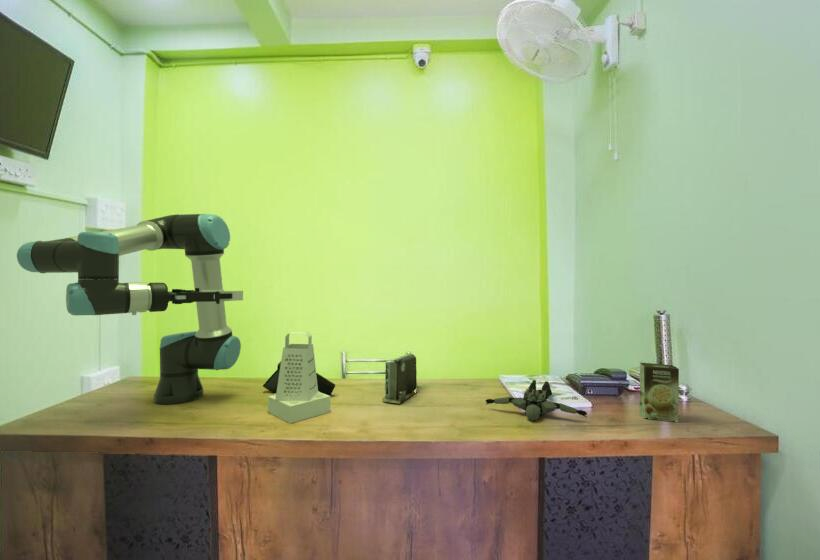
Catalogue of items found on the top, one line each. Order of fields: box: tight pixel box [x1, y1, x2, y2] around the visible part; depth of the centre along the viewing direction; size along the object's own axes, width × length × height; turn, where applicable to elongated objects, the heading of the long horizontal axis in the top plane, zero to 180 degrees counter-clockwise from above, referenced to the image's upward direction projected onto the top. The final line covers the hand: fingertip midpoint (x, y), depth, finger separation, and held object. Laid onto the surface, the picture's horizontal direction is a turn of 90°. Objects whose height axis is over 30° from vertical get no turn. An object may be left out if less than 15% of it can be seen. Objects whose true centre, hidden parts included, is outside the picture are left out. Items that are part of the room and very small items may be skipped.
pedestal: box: [267, 390, 332, 424], centre depth 123 cm, size 14×14×5 cm
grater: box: [275, 331, 319, 401], centre depth 123 cm, size 10×10×20 cm
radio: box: [381, 353, 418, 404], centre depth 141 cm, size 23×9×15 cm, turn 154°
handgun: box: [262, 359, 336, 396], centre depth 142 cm, size 2×24×15 cm, turn 79°
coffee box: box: [638, 362, 680, 422], centre depth 118 cm, size 9×6×16 cm
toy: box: [485, 379, 588, 422], centre depth 128 cm, size 30×8×30 cm
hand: (232, 294), depth 113 cm, fingers open, 13 cm apart
